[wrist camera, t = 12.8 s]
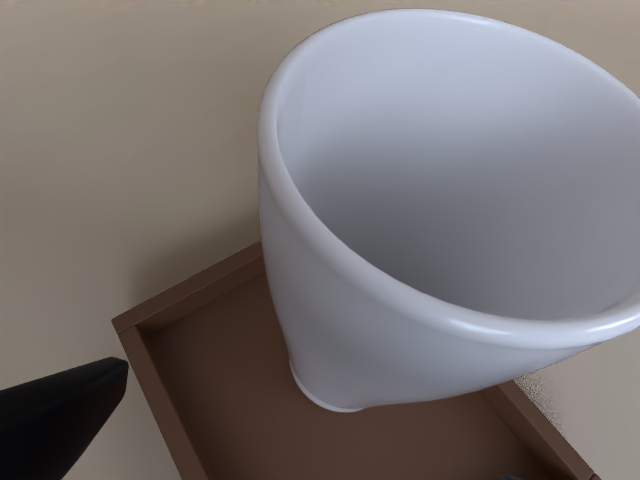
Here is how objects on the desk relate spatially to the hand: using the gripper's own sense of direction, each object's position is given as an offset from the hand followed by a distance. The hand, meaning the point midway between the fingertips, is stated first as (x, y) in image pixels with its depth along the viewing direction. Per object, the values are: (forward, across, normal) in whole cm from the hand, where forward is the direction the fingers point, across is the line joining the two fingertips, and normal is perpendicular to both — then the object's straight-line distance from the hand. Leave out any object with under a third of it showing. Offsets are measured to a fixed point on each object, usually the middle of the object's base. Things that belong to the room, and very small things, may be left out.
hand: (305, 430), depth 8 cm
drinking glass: (+10, -1, +4) cm, 10 cm away
